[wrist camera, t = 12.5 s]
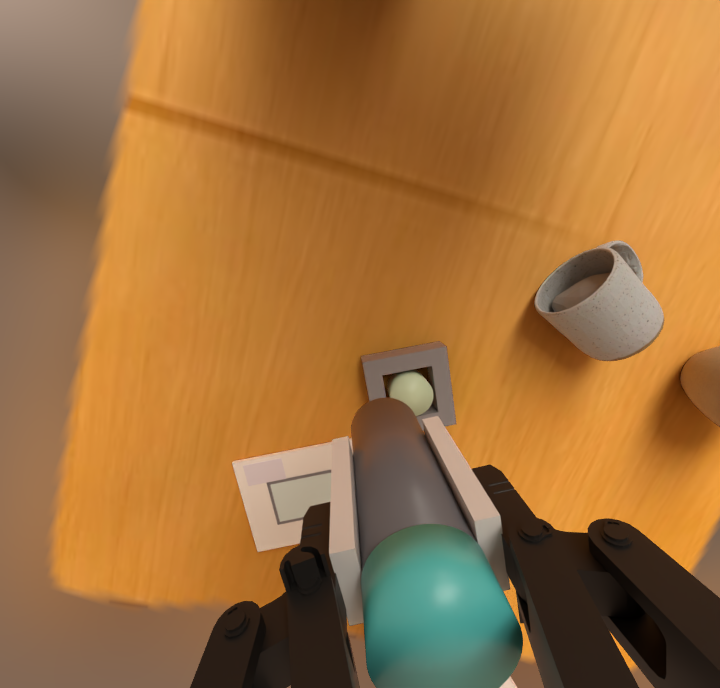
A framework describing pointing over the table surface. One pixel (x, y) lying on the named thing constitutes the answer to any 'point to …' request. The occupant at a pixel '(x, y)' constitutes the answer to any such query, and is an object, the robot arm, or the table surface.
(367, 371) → the button housing
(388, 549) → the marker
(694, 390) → the flower pot
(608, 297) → the ceramic mug
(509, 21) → the table surface
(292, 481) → the sheet
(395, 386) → the button cap
